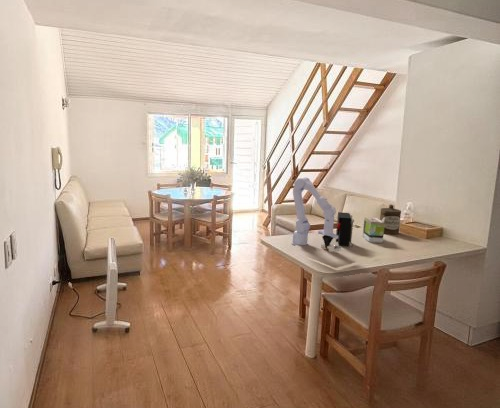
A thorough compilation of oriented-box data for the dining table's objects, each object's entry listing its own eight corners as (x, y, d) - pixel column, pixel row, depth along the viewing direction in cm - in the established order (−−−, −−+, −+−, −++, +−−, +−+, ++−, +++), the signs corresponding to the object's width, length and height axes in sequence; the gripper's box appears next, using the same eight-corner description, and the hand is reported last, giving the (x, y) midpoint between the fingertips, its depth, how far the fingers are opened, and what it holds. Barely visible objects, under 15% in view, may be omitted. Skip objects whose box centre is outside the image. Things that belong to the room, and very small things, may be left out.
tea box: (383, 242, 242) (385, 222, 239) (368, 242, 242) (370, 221, 239) (375, 237, 256) (377, 217, 254) (362, 236, 256) (364, 216, 254)
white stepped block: (326, 250, 215) (327, 245, 214) (329, 249, 216) (329, 245, 216) (331, 252, 212) (331, 247, 211) (333, 251, 213) (334, 246, 213)
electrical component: (351, 248, 225) (354, 218, 221) (335, 247, 227) (338, 217, 223) (349, 241, 242) (352, 213, 238) (334, 240, 244) (337, 212, 240)
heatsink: (317, 249, 219) (317, 245, 219) (331, 246, 227) (331, 242, 226) (330, 254, 211) (331, 250, 210) (344, 251, 218) (345, 246, 218)
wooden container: (381, 234, 264) (385, 206, 261) (375, 229, 279) (378, 202, 275) (401, 235, 264) (405, 207, 260) (394, 230, 279) (397, 203, 275)
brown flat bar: (322, 248, 218) (322, 246, 217) (333, 246, 224) (333, 244, 224) (326, 250, 215) (326, 247, 215) (337, 247, 221) (337, 245, 221)
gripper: (315, 224, 218) (313, 245, 221) (333, 229, 207) (331, 251, 209) (323, 223, 222) (321, 243, 225) (341, 228, 211) (339, 249, 213)
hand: (327, 247), depth 217 cm, fingers closed, pressing on brown flat bar
